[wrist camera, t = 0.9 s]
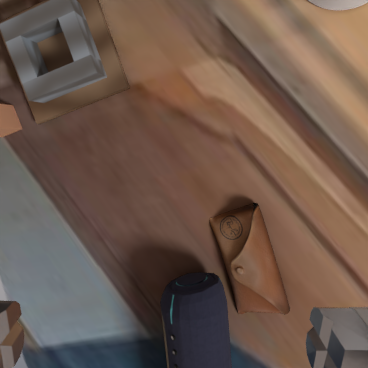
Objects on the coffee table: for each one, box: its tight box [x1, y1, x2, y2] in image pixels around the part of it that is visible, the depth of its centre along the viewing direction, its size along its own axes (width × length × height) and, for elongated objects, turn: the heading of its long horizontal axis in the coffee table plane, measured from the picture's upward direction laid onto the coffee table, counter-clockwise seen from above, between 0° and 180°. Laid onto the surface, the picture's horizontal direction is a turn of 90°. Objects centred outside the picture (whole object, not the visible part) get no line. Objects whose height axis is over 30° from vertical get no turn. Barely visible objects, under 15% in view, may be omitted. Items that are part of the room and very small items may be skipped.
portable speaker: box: [160, 273, 232, 368], centre depth 49 cm, size 25×10×10 cm, turn 6°
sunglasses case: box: [210, 203, 290, 315], centre depth 50 cm, size 18×7×7 cm
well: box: [0, 0, 130, 124], centre depth 47 cm, size 16×16×5 cm
